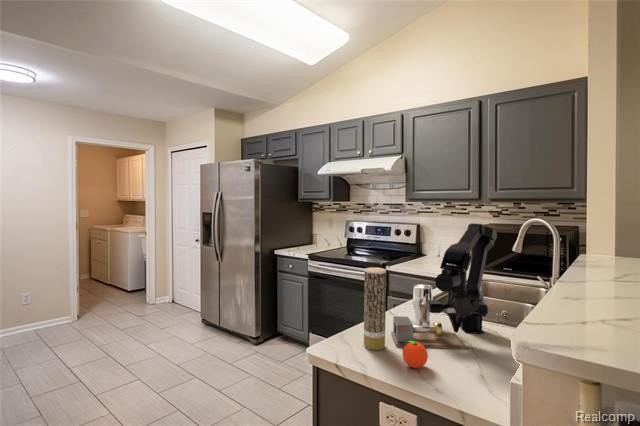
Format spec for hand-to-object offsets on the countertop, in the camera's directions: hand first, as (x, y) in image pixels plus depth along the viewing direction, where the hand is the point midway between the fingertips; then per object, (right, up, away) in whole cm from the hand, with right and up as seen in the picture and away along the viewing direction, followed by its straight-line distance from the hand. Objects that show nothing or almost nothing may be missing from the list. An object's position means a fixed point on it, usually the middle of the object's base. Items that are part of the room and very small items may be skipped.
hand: (455, 332), depth 116 cm
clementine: (-19, -4, -16) cm, 25 cm away
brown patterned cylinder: (-28, -4, -4) cm, 28 cm away
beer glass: (-7, -3, +14) cm, 16 cm away
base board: (-10, -3, +1) cm, 10 cm away
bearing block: (-18, -3, +1) cm, 18 cm away
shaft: (-11, -2, 0) cm, 11 cm away
